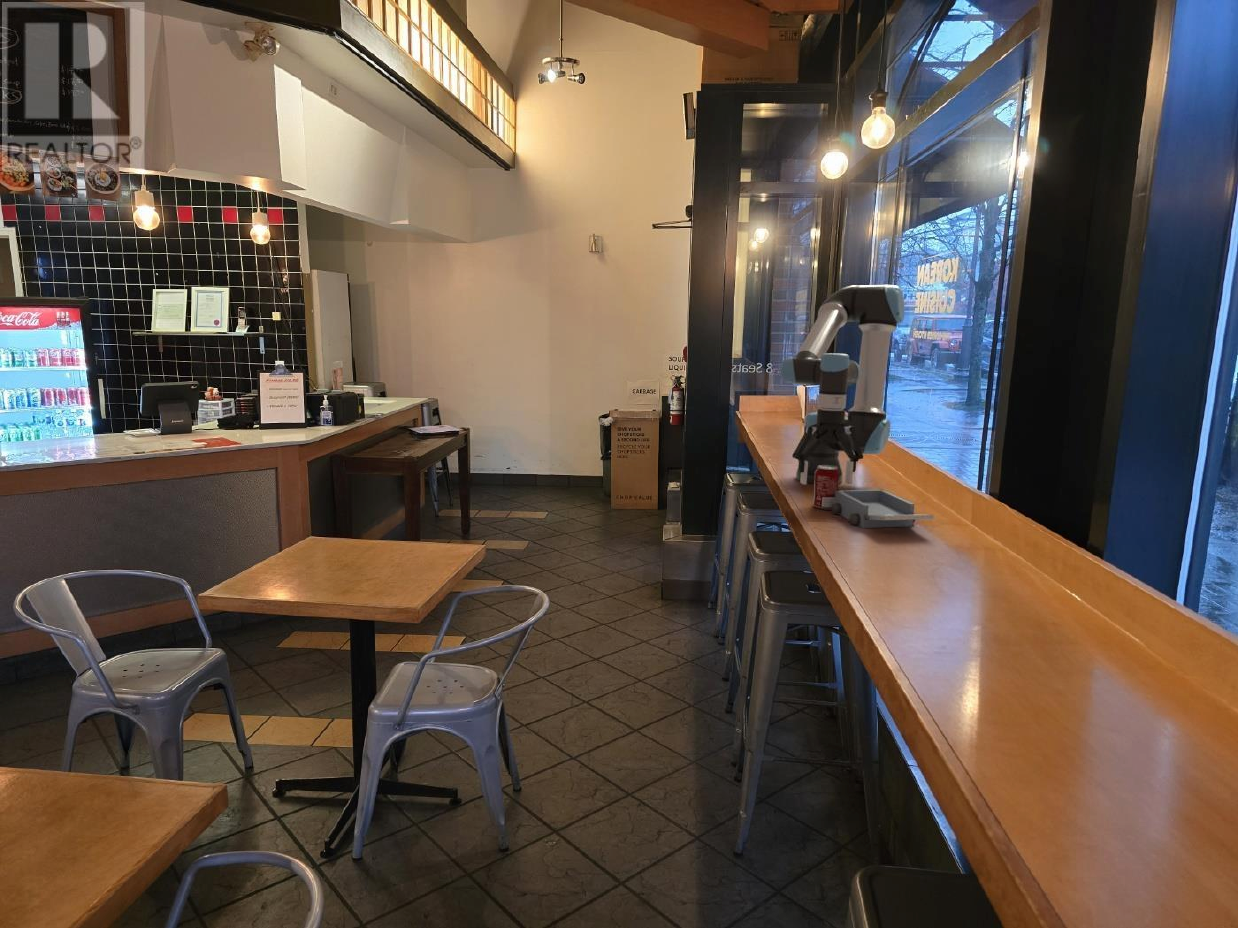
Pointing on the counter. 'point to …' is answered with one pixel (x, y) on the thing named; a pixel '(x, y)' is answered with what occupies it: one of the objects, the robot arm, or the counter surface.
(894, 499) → the box
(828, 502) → the soda can
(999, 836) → the counter surface
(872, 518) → the panel
